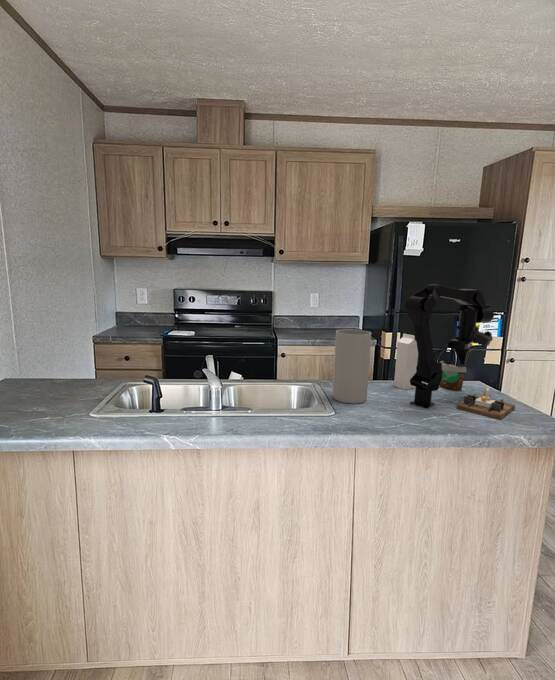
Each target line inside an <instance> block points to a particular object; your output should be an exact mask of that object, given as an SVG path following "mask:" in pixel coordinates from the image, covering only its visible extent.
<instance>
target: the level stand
mask: <svg viewBox="0 0 555 680" xmlns="http://www.w3.org/2000/svg"><path fill="white" fill-rule="evenodd" d="M482 396H483V395H481V396H479V395H475V394H474V395H472V394H467V396H466V395H465V396H464V398H463V400H462V401H461V402H459V403H457V404H456V409H457V410H460V411H465V412H468V413H472V414H476V415H480V416H483V417H487V418H491V419H496V420H502V419H504V417H506V416H507V415H509V414H510V413H511V412H513V410H515V409H516V404H515V403H509V402H505V401H504V398H502V399H500V400H496V399H494V400H495V403H492V406H491V407H489V408H487V407H483V406H479V405H475V400H476V399H478V398H479V397H482ZM491 400H493V399H492V398H491Z"/></svg>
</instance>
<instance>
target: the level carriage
mask: <svg viewBox="0 0 555 680" xmlns="http://www.w3.org/2000/svg"><path fill="white" fill-rule="evenodd" d="M492 390H493V389H492V387H491V388H490V387H483V393H482V395H481V396H482V397H481V396H479V398H478V399H476V400H475V405H479V406H483V407H487V408H489V407H491V406H492V403H495V400H496V399H492ZM491 399H492V400H491Z"/></svg>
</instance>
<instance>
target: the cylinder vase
mask: <svg viewBox="0 0 555 680" xmlns="http://www.w3.org/2000/svg"><path fill="white" fill-rule="evenodd" d="M334 341H335V343H334V344H335V345H334V359H333V360H334V361H333V362H334V363H333V364H334V365H333V378H332V381H333V382H332V383H333V384H332V398H333V399H334V400H336V401H338V402H340V403H344V404H352V405H353V404H354V405H355V404H362V403H364V402H366V401H367V399H368V387H369V374H370V373H369V372H370V358H371V346H372V345H371V344H372V332H371V331H368V330H362V329H350V328H349V329H348V328H347V329H337V330H335V340H334Z"/></svg>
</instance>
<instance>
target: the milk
mask: <svg viewBox="0 0 555 680" xmlns="http://www.w3.org/2000/svg"><path fill="white" fill-rule="evenodd" d="M418 361H419V355H418V349H417V342H416V336H415V334H414V335H413V334H407V333H403V334H402V337H401V338H399V340H397V343H396V355H395V368H394V369H395V370H394V381H393V387H395V386H396V387H395V388H398V387H399V389H401V388H402V389H401V390H404V389H407V390H411V388H413V389H415V388H416V387H415V386H413V385H411V384H410V379H411V378H412V377H413V375H414V374H415V373H416V367H417V365H418Z"/></svg>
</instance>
